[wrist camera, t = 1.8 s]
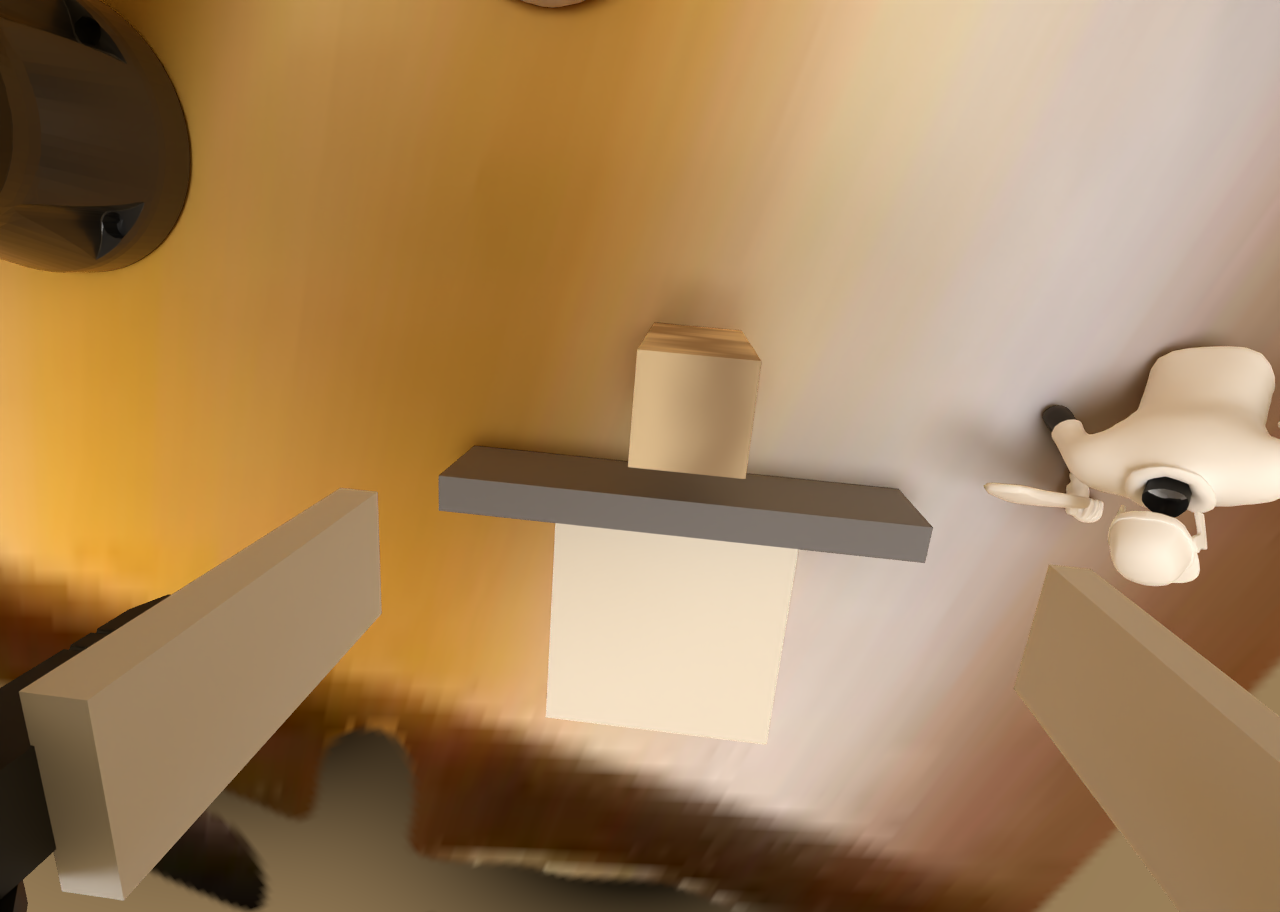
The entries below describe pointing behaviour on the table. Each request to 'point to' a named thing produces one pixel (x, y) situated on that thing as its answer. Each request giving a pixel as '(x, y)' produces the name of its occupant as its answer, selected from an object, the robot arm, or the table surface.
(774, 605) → the mat
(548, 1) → the sculpture
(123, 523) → the table surface
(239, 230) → the table surface
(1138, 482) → the cricket player figurine
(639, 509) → the grey plank
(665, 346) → the letter block
